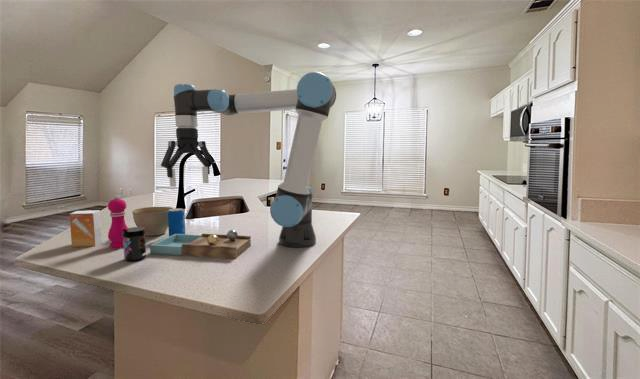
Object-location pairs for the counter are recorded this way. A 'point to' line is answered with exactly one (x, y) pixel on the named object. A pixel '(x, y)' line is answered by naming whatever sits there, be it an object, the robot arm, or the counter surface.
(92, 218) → the small box
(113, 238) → the pink tall rounded piece
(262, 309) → the counter surface
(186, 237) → the tray
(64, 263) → the counter surface
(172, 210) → the beverage can
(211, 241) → the brass ball
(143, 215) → the planter bowl
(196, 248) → the walnut runway
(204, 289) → the counter surface
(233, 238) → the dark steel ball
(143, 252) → the supplement container
